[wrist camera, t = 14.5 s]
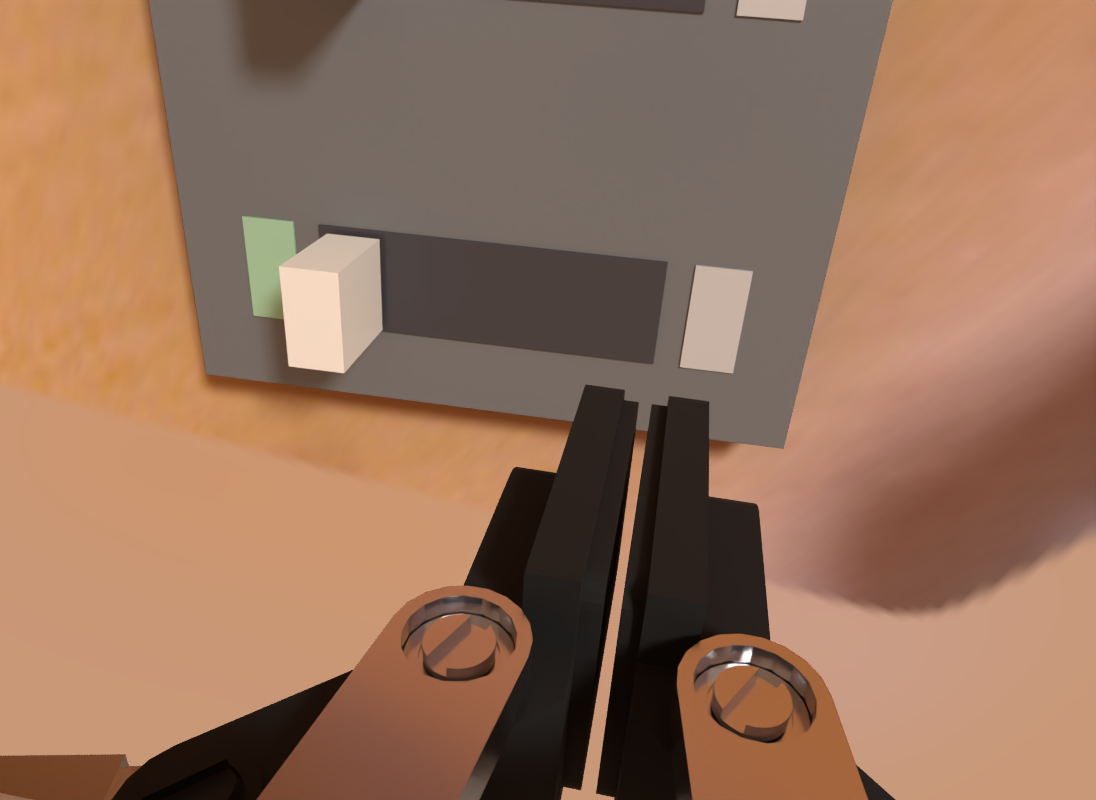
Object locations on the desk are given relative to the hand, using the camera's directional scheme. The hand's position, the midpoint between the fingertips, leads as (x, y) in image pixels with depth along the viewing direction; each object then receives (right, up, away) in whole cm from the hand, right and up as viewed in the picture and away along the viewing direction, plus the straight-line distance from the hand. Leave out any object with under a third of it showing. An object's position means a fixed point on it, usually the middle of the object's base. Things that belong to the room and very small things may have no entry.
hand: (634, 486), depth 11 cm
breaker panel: (-3, +12, +18) cm, 22 cm away
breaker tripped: (-9, +6, +19) cm, 21 cm away
